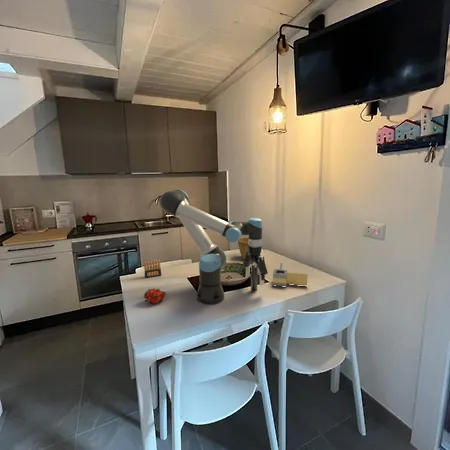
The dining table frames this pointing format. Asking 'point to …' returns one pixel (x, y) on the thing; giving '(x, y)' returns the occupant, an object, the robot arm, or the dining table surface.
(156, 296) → the dragon fruit
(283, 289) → the dining table surface
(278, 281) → the hinge
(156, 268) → the ammunition clip
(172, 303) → the dining table surface
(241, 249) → the plant pot
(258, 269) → the supplement box
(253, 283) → the hinge pin
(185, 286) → the dining table surface
